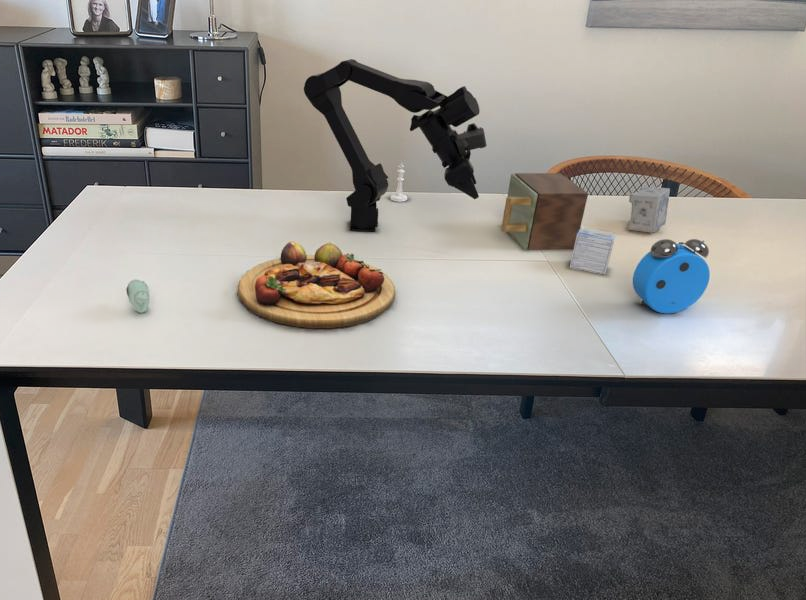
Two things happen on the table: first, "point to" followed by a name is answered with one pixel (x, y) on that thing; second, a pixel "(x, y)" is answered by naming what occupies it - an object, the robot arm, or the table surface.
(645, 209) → the incense holder
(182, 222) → the table surface
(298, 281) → the wooden plate
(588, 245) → the medicine box
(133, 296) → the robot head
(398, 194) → the chess piece
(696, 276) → the alarm clock
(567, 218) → the cupboard
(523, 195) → the door
